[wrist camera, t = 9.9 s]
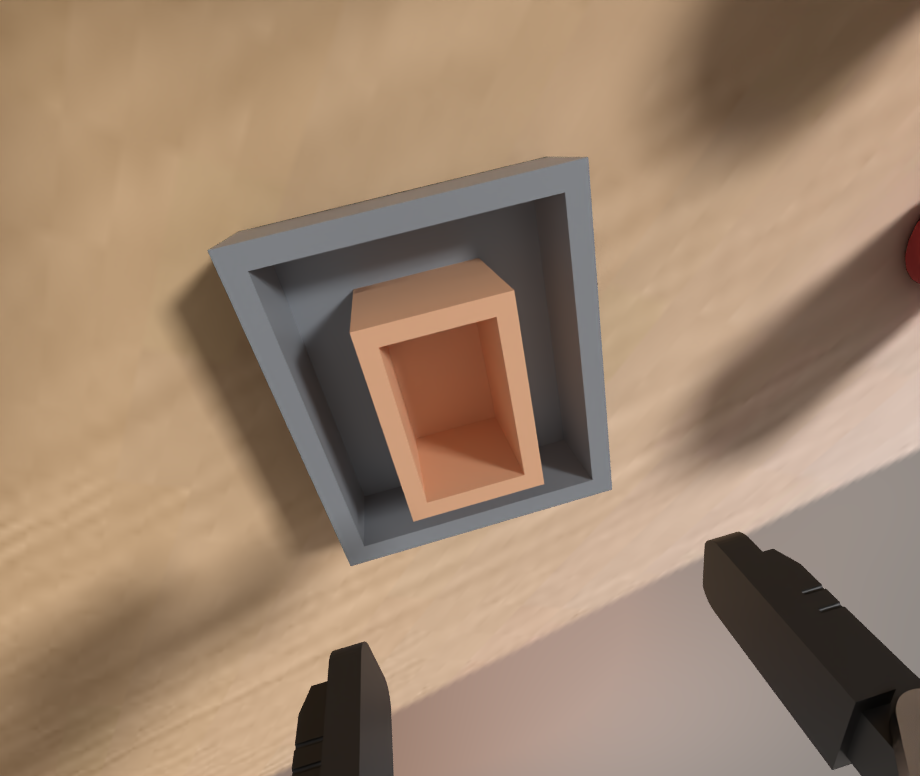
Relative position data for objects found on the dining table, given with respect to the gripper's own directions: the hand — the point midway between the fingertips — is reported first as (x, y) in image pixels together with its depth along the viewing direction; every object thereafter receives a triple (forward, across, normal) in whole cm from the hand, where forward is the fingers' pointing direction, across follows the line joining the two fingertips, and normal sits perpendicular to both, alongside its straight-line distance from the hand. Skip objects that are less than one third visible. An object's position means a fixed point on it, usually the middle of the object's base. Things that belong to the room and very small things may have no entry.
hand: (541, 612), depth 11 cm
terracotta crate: (+15, 0, 0) cm, 15 cm away
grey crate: (+16, 0, 0) cm, 16 cm away
